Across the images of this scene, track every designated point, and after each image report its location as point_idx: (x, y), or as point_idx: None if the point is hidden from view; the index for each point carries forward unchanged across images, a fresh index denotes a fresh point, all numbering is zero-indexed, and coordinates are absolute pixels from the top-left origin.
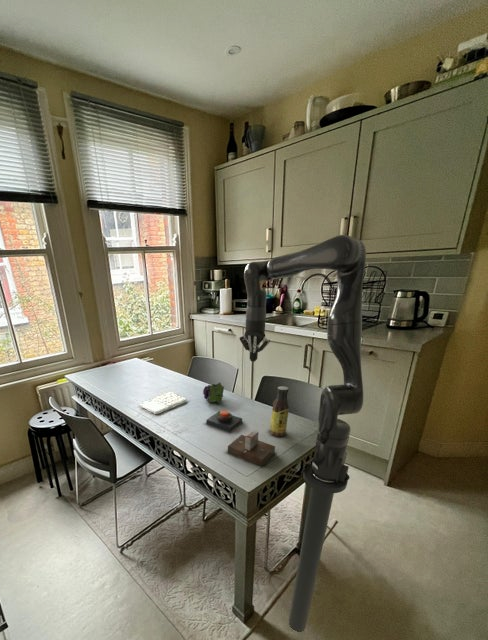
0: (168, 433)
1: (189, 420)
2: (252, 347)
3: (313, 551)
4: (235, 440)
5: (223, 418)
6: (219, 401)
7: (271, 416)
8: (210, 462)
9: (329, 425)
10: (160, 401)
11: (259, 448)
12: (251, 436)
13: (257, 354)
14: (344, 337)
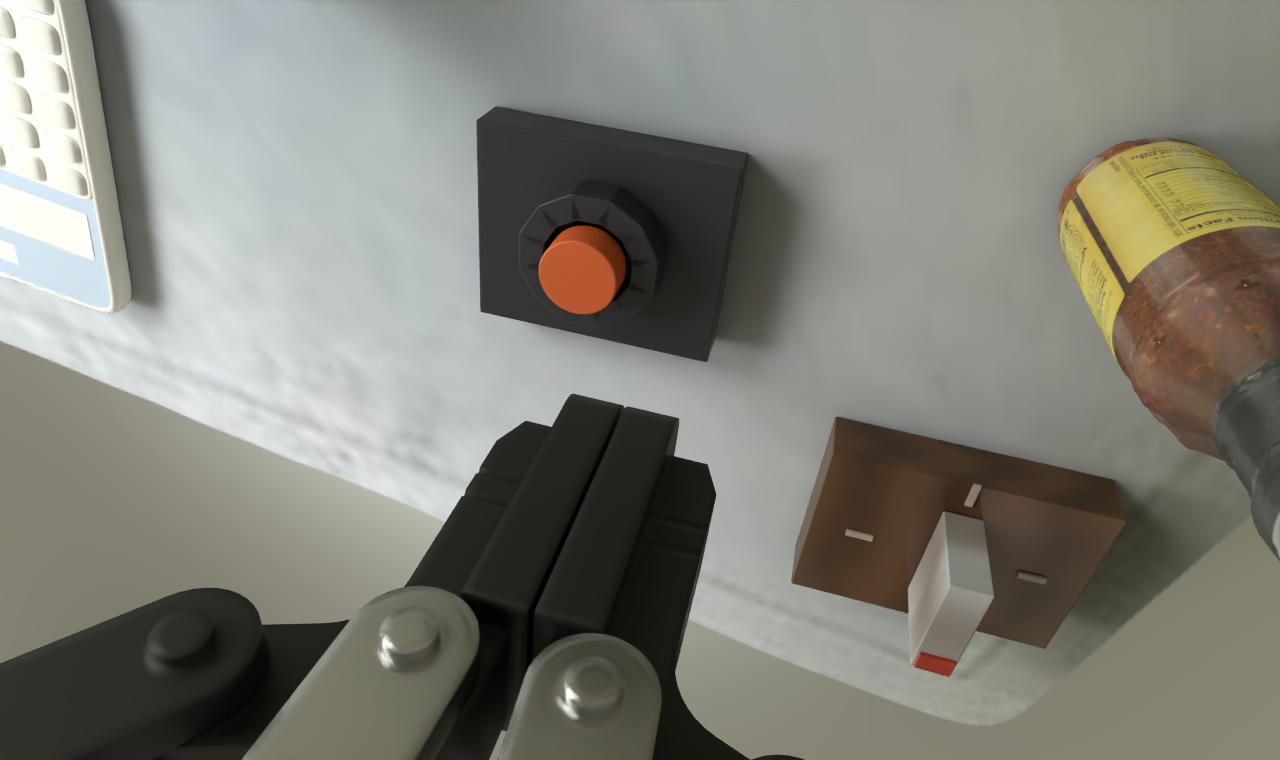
0: (380, 468)
1: (361, 287)
2: (338, 755)
3: None
4: (816, 524)
5: (607, 319)
6: None
7: (1089, 298)
8: (742, 626)
9: None
10: None
11: (1007, 565)
12: (951, 654)
13: (685, 613)
14: None
